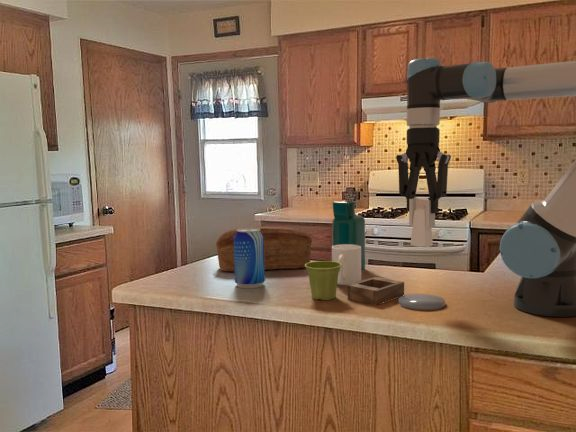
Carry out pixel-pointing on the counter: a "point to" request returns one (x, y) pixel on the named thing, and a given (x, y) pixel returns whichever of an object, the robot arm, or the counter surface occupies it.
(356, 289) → the pocket block
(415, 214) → the salt shaker
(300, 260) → the bread
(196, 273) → the counter surface
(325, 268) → the plant pot
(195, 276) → the counter surface
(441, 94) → the robot arm
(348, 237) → the teal bottle
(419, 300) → the grey plate
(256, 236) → the beer can
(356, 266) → the mug
